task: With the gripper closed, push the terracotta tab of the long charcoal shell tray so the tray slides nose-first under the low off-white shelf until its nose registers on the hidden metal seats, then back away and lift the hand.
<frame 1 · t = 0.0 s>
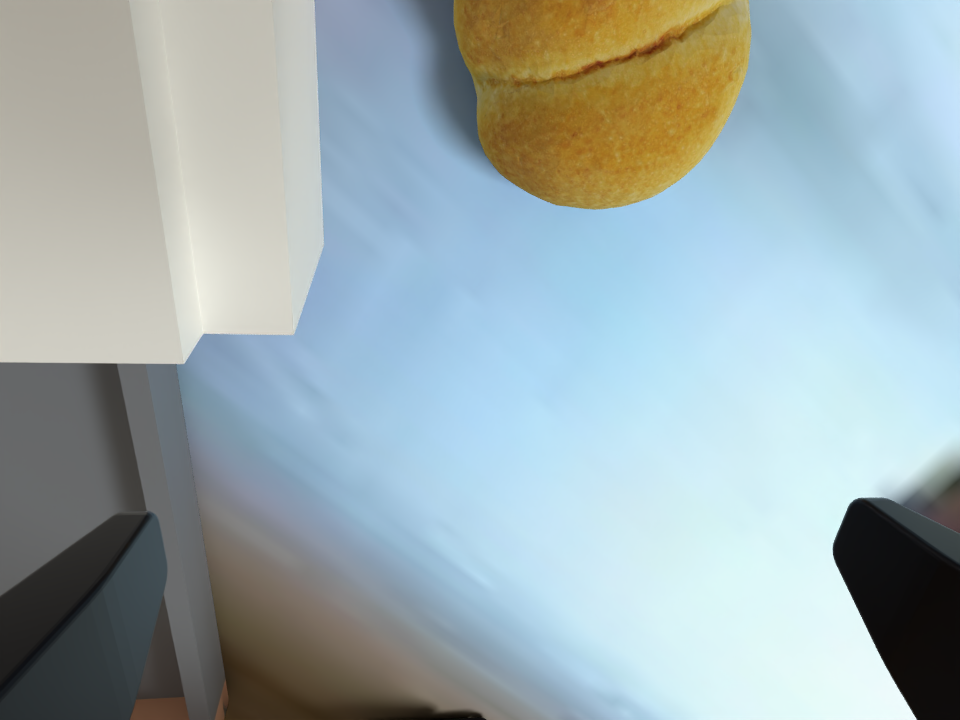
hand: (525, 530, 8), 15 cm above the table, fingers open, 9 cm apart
bread roll: (587, 41, 20), on the table
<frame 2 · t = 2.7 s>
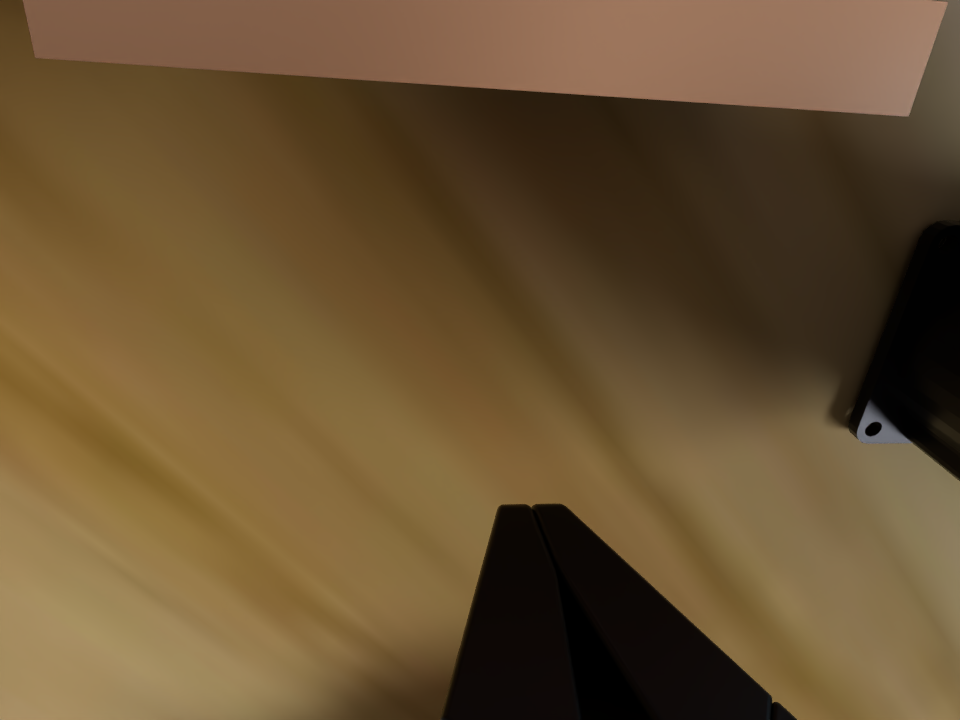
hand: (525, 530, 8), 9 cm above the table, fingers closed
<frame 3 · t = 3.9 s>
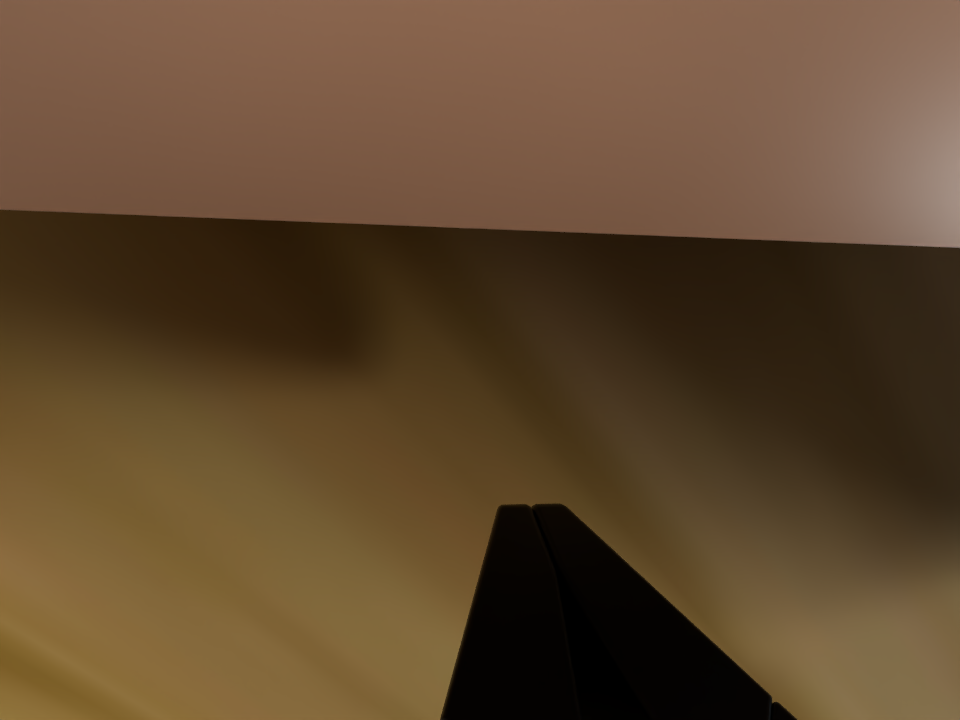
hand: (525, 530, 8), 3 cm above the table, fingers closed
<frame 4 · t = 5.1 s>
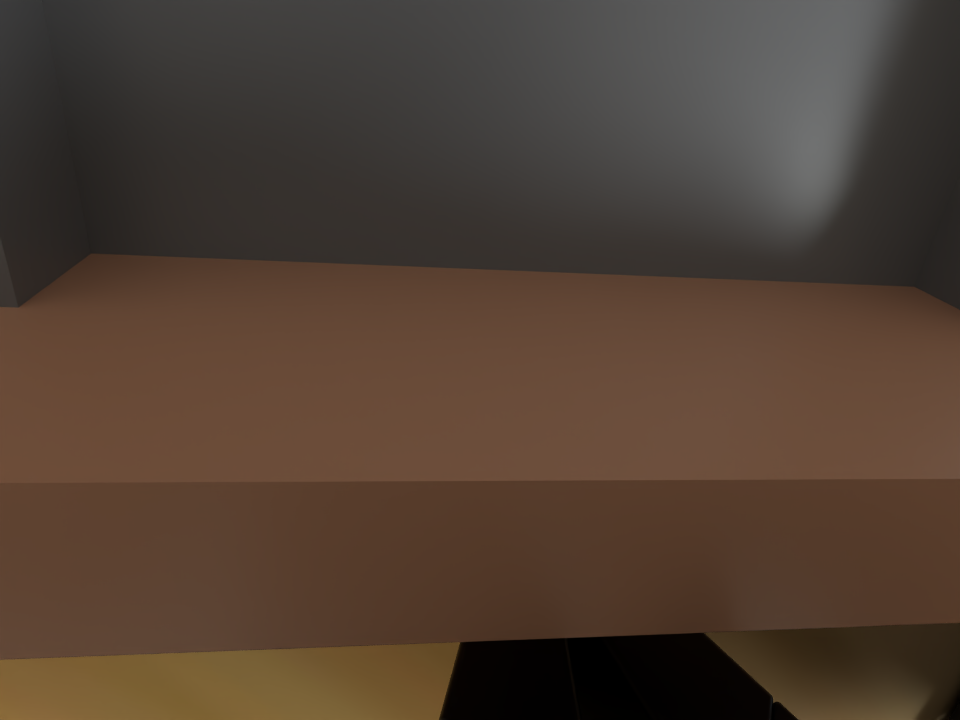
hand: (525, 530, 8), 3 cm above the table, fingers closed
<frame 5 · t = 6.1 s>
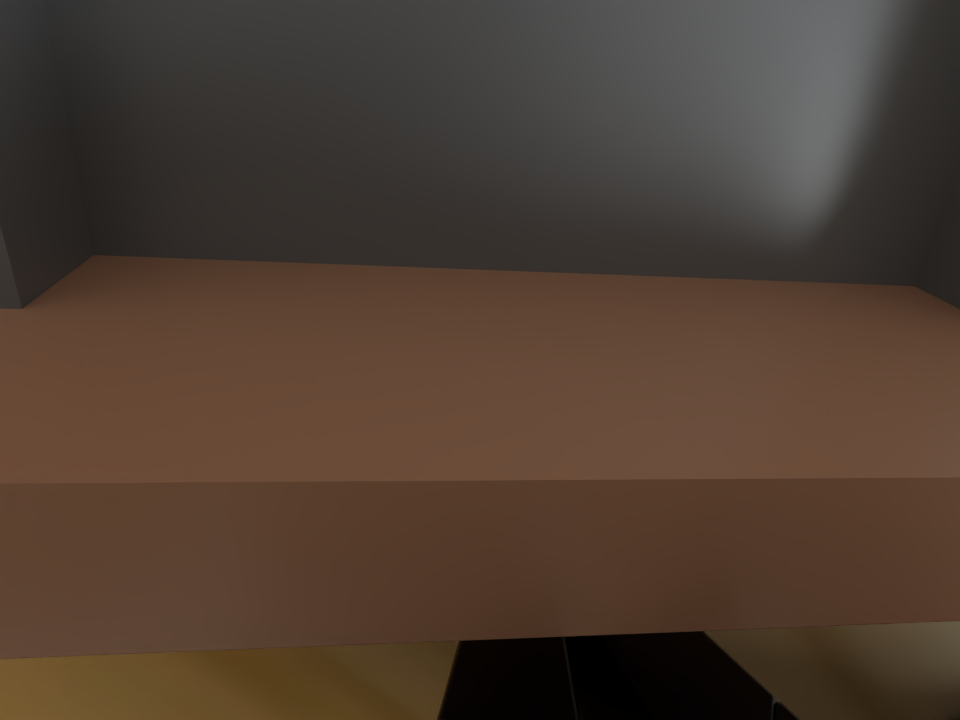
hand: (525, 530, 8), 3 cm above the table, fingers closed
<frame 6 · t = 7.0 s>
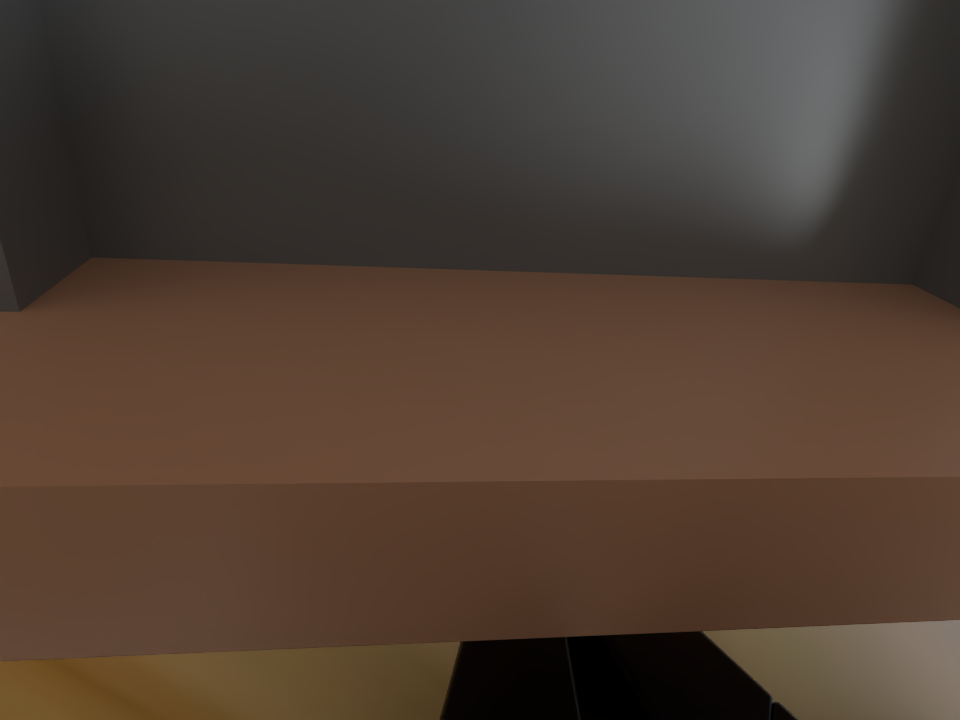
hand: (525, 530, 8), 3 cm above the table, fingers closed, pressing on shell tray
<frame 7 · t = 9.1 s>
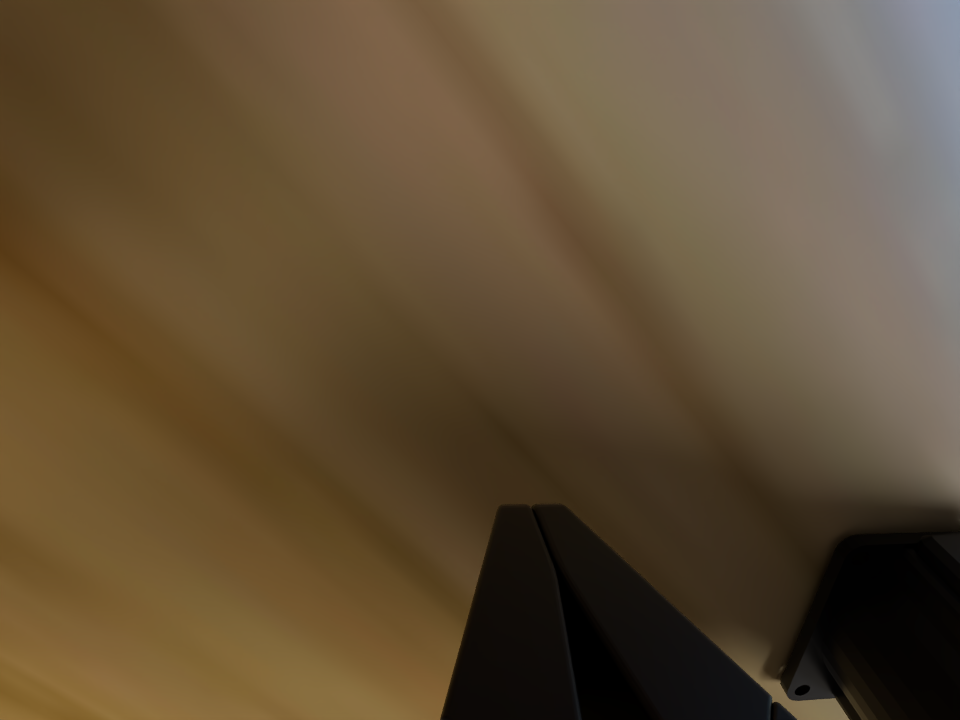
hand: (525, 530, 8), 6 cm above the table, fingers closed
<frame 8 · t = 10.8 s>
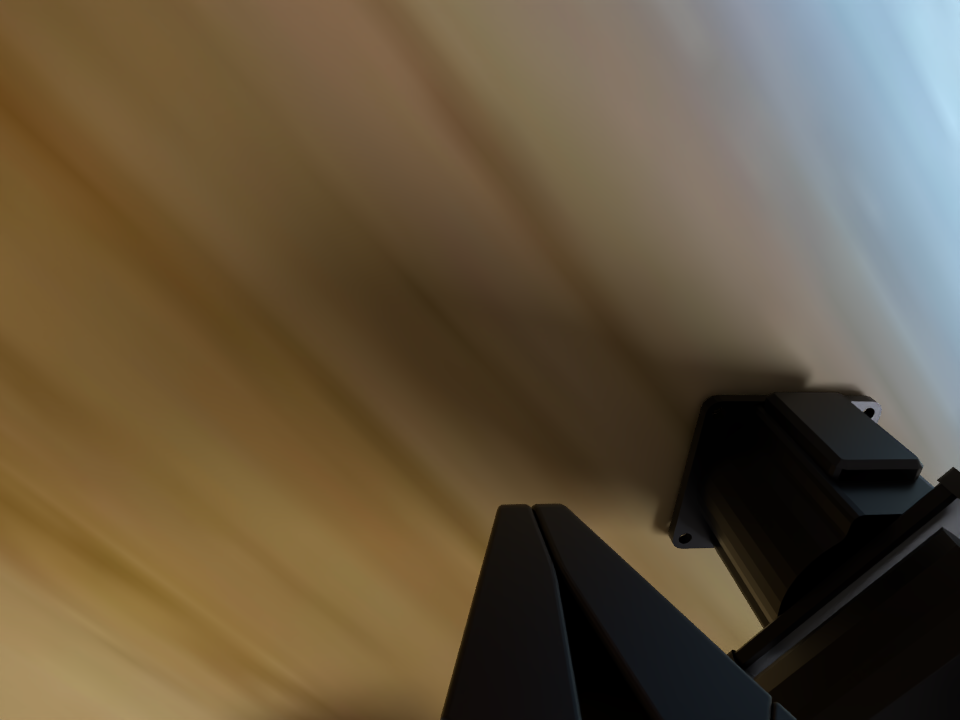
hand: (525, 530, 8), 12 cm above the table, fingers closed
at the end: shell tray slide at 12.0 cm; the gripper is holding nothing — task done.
